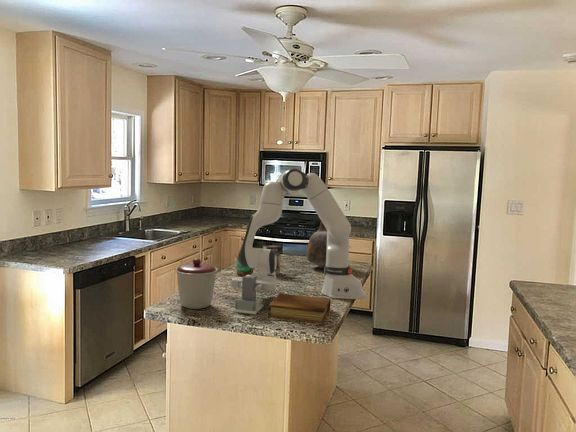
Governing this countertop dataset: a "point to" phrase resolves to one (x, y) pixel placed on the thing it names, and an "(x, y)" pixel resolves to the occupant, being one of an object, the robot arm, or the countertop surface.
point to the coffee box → (278, 252)
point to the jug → (318, 247)
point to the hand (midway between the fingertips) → (248, 288)
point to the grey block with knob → (248, 288)
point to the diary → (300, 307)
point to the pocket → (248, 306)
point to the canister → (196, 284)
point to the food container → (243, 269)
